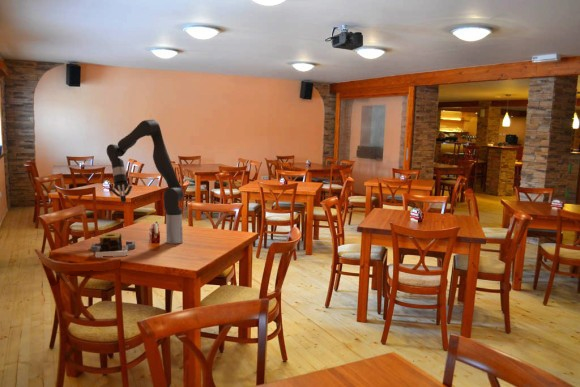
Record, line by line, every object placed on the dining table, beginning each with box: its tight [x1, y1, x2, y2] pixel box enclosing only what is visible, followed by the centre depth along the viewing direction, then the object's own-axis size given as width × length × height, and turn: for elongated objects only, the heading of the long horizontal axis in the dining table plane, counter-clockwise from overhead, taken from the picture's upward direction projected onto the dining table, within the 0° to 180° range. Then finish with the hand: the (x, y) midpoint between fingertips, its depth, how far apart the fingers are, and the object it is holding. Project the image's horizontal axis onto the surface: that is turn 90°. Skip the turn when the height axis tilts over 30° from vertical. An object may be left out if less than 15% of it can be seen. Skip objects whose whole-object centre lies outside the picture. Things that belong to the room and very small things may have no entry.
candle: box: [99, 232, 123, 252], centre depth 266 cm, size 10×10×10 cm
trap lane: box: [90, 240, 136, 258], centre depth 270 cm, size 23×22×2 cm
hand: (123, 202), depth 293 cm, fingers closed
